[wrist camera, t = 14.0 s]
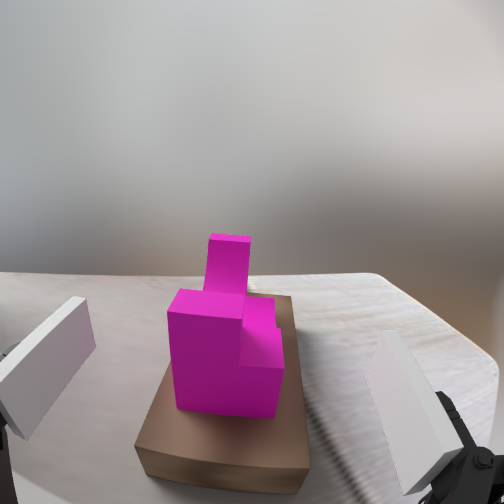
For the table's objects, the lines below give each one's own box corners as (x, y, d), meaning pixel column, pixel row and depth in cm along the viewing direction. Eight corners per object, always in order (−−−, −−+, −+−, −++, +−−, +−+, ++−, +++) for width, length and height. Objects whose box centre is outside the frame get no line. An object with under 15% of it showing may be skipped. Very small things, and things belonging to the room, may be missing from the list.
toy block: (274, 418, 17) (292, 322, 14) (176, 408, 17) (167, 311, 14) (269, 307, 31) (277, 238, 28) (210, 302, 31) (212, 233, 28)
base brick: (146, 474, 14) (134, 445, 13) (204, 317, 35) (204, 287, 34) (296, 493, 14) (310, 467, 13) (286, 325, 35) (290, 296, 34)
